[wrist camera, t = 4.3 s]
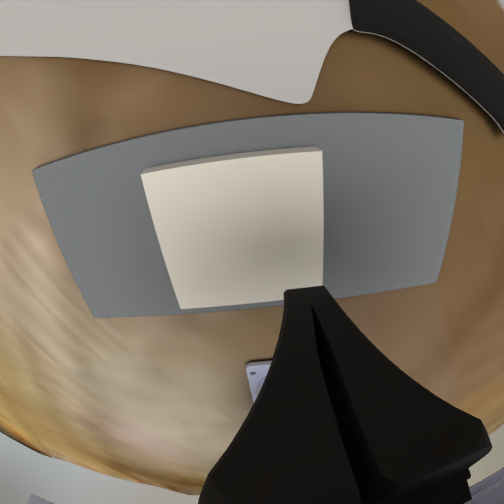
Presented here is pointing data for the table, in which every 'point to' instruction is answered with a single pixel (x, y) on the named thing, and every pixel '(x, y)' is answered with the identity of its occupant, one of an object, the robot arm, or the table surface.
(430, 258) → the mat
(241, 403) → the table surface
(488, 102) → the kitchen cleaver
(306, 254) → the tile
